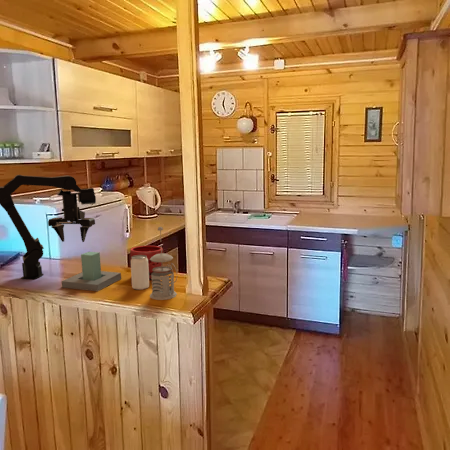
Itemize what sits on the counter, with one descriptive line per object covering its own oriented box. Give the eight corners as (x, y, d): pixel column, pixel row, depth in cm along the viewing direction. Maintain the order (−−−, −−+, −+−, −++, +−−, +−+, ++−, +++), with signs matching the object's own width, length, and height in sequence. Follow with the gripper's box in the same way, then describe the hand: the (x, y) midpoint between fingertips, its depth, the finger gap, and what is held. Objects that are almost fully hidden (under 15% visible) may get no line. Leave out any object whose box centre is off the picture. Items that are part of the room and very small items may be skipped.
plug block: (83, 284, 173) (80, 254, 171) (91, 280, 177) (88, 251, 175) (94, 285, 171) (91, 255, 169) (101, 281, 176) (99, 252, 174)
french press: (164, 288, 166) (161, 223, 161) (186, 295, 158) (183, 226, 154) (143, 296, 158) (140, 227, 154) (166, 302, 151) (163, 231, 146)
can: (147, 289, 165) (146, 258, 163) (130, 290, 165) (128, 259, 163) (150, 284, 171) (149, 254, 169) (133, 284, 171) (132, 254, 169)
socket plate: (62, 287, 169) (61, 281, 169) (87, 275, 184) (87, 269, 184) (97, 291, 164) (97, 284, 164) (121, 278, 179) (120, 272, 179)
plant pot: (160, 281, 175) (159, 251, 173) (127, 281, 176) (126, 251, 174) (166, 271, 188) (165, 244, 186) (136, 271, 189) (134, 244, 187)
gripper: (99, 203, 192) (101, 238, 195) (59, 202, 195) (62, 237, 198) (87, 206, 182) (90, 243, 184) (45, 206, 185) (49, 243, 187)
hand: (73, 241), depth 189 cm, fingers open, 9 cm apart
